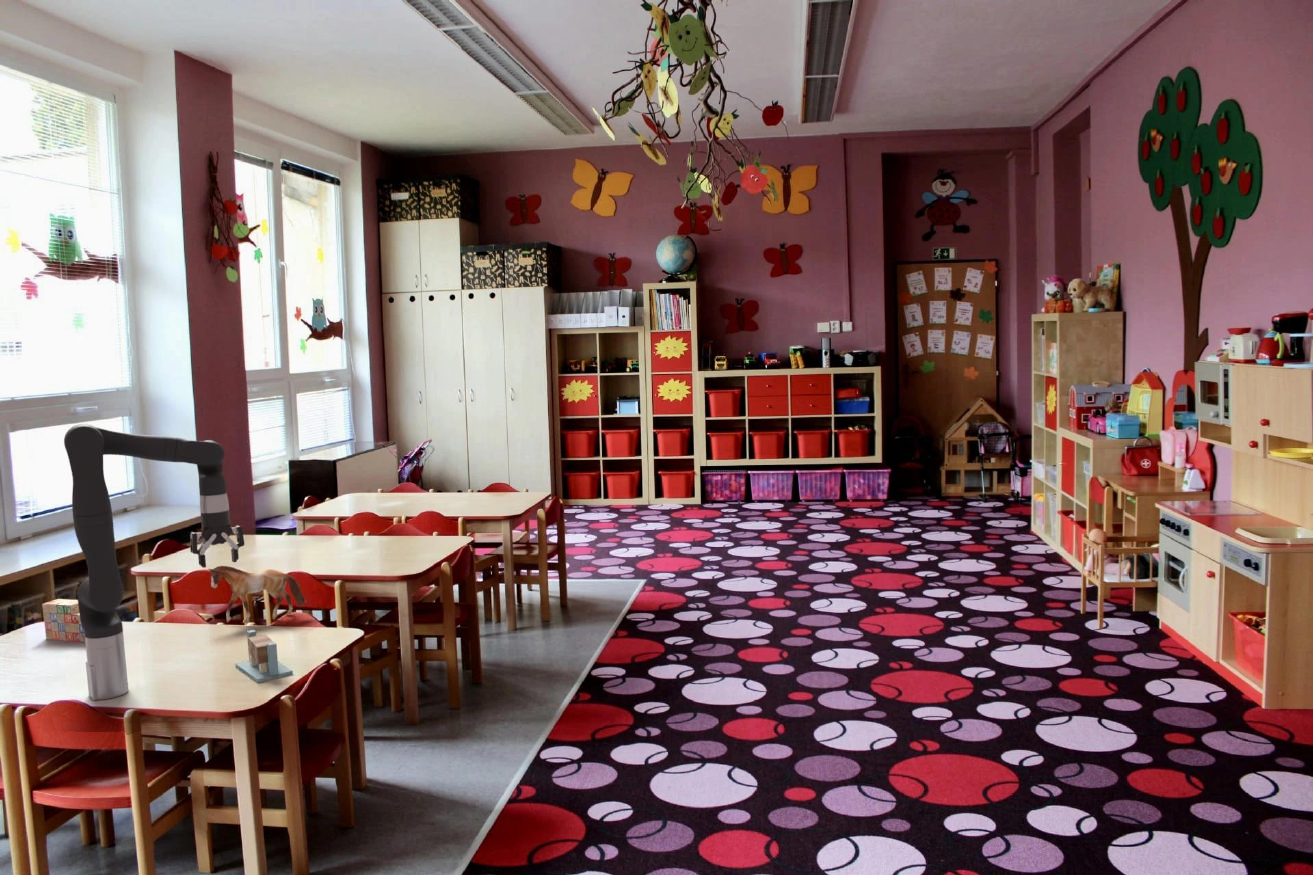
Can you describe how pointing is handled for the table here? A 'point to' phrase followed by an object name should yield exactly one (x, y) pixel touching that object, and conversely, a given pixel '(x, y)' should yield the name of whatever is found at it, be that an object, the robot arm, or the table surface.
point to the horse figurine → (257, 586)
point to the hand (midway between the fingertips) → (219, 564)
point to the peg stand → (264, 664)
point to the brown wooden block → (259, 648)
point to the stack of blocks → (63, 620)
